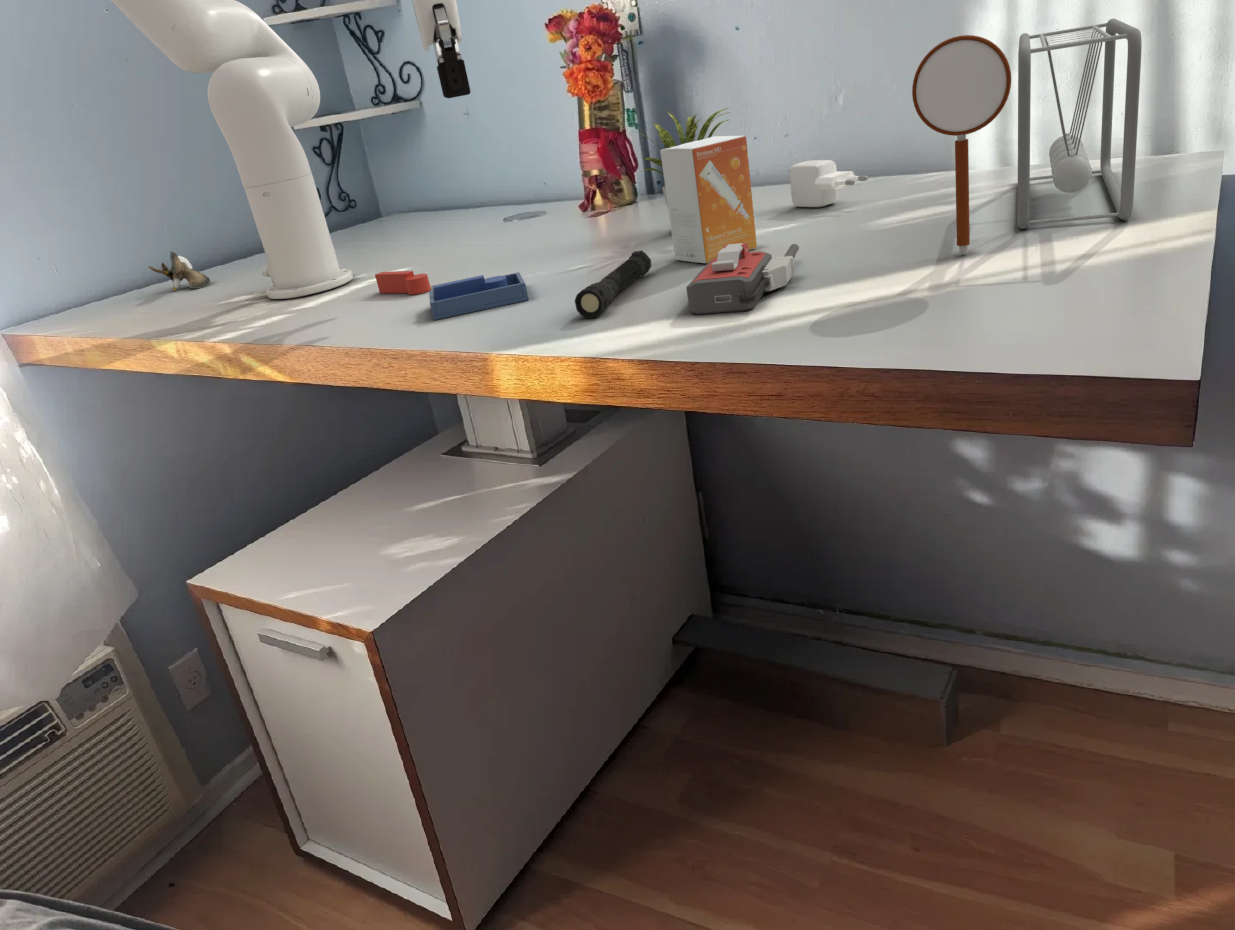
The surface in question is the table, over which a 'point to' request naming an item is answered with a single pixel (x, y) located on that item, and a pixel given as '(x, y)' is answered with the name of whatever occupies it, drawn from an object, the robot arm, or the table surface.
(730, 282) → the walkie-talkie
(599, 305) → the flashlight
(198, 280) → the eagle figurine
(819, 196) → the power adapter
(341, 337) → the table surface
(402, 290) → the red block with cylinder
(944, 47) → the magnifying glass
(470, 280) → the blue block with cylinder
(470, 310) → the blue tray
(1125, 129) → the newton's cradle
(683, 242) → the small box
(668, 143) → the house plant
